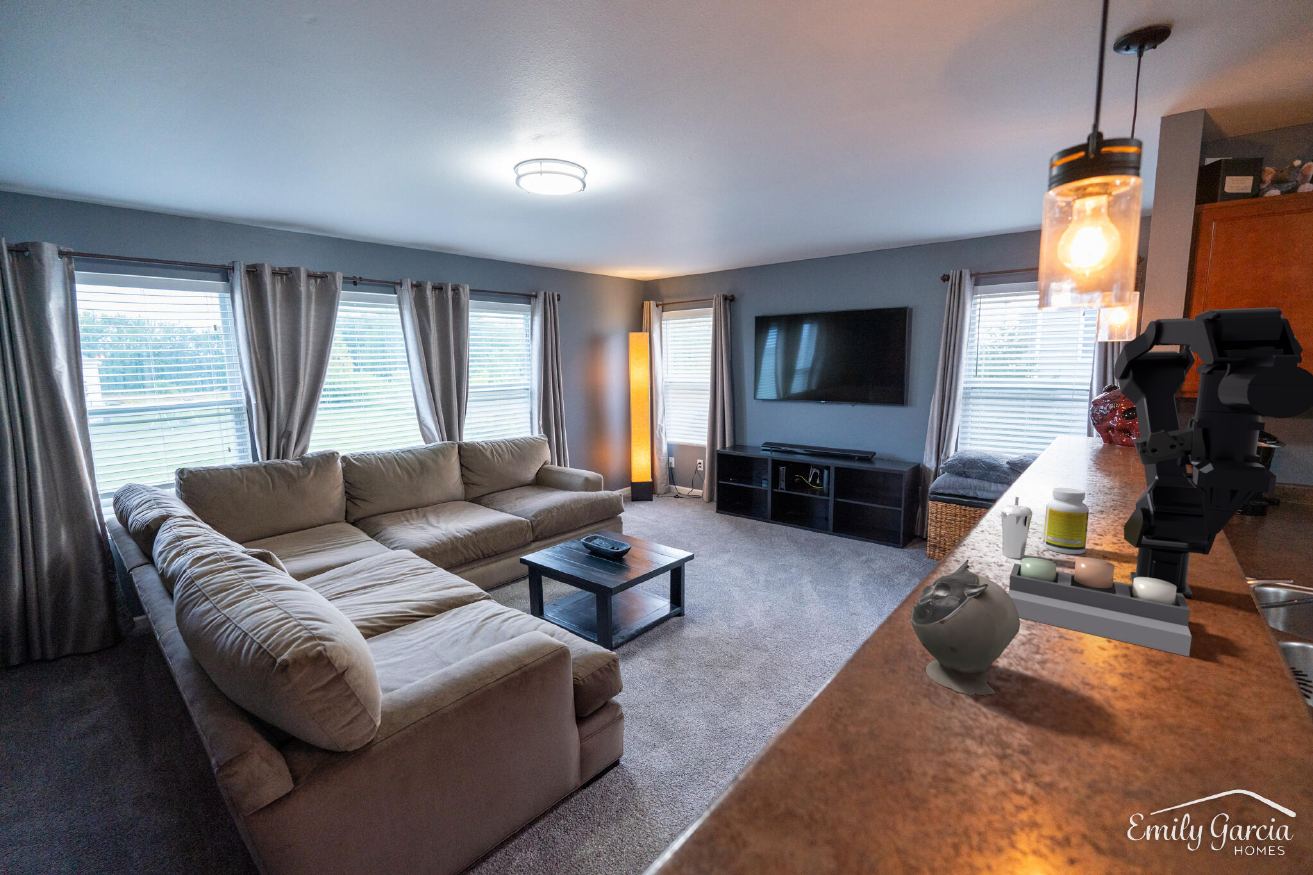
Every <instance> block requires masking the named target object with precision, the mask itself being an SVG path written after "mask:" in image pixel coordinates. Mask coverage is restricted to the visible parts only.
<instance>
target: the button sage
mask: <svg viewBox="0 0 1313 875" xmlns="http://www.w3.org/2000/svg"><path fill="white" fill-rule="evenodd" d="M1020 564H1021V574H1020V576H1023V577H1028V578H1033V579H1038V580H1044V581H1049V582H1054V583H1055V578H1056V571H1057V567H1058V566H1057V564H1056V563H1054V561H1050V560H1048V559H1047V560H1046V559H1043V558H1038V557H1024V558H1022V559H1021V563H1020Z"/></svg>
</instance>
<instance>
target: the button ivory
mask: <svg viewBox="0 0 1313 875" xmlns="http://www.w3.org/2000/svg"><path fill="white" fill-rule="evenodd" d="M1176 588H1177V587H1176V586H1175V585H1174V584H1172V583H1169V582H1166V581H1163V580H1159V579H1155V578H1148V577H1136V578H1134V582H1133V590H1132V598H1137V599H1143V600H1148V601H1153V602H1158V603H1164V604H1169V605H1175V597H1176Z"/></svg>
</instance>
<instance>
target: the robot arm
mask: <svg viewBox="0 0 1313 875" xmlns="http://www.w3.org/2000/svg"><path fill="white" fill-rule="evenodd" d="M1283 313H1284V312H1283V311H1282V310H1281V309H1280V308H1279V307H1255V308H1227V309H1225V308H1223V309H1221V308H1220V309H1209V310H1206V311H1203V312H1201V313H1199V314H1196V315H1195V316H1194V319H1190V318H1189V317H1187V318H1185V317H1183V318H1158V319H1155V320H1150V322H1149V323H1148V325H1147V326H1146V328H1145V331H1144V332H1142V333H1141V334H1139V335H1138V336H1137V337H1135V338H1134V339H1132V340H1130V341H1129V342H1127V343H1126V344H1125V345H1123V348H1122V349H1121V351H1120V353H1119V355H1118V357H1117V359H1116V361H1115V364H1114V368H1113V370H1114V371H1113V373H1114V374H1113V376H1114V378H1115V379H1116V380H1117V381H1118V386H1119V390H1120V394H1122V395H1123V396H1124V397H1125V398H1126V399H1127V400H1128V401H1130V402H1131V403H1132V404H1133V405H1135V411H1136V418H1137V424H1138V425H1137V427H1138V431H1139V432H1138V433H1139V437H1138V438H1133V439H1132V441H1133V444H1134V447H1135V450H1136V453H1137V455H1138V458H1139V461H1140V463H1141V465H1142V466H1143V467H1144V468H1143V469H1144V474H1145V475H1144V476H1145V482H1146V488H1145V490H1144V491H1143V493H1142V494H1141V495H1140V497H1139V498H1138V499H1137V501H1136V503H1135V509H1134V511H1133V512H1132V514H1131V515H1130V517H1128V519H1127V520H1126V522H1125V523H1124V524H1123V525H1124V526H1123V539H1124V540H1125V542H1127V543H1129V544H1130V545H1131V546H1133V548H1137V551H1138V552H1137V558H1136V567H1135V568H1136V569H1135V571H1130V574H1129V575H1130V578H1131V584H1132V585H1133V582H1134V578H1136V577H1148V578H1155V579H1159V580H1163V581H1166V582H1169V583H1172V584H1174V585H1175V586H1176V587H1177V588H1176V593H1181V594H1183V596H1184V597H1186V598H1192V597H1193V592H1192V590H1191V588H1190V586H1189V584H1188V574H1189V567H1190V561H1191V560H1190V559H1191V553H1193V554H1201V555H1205V556H1208V555H1210V552H1211V550H1212V547H1213V544H1214V542H1215V539H1216V537H1217V535H1218V534H1220V532H1222V530H1223V529H1224V528H1225V527H1226V526H1227V525H1228V523H1229V522H1230V521H1231V519H1232V518H1233V517H1234V516H1235V515H1236V514H1237V512H1238V511H1239V510H1240V509H1241V508H1242V507H1243V505H1244V504H1245V503H1246V502H1247V501H1249V499H1250V498H1251V497H1252V496H1253V494H1255V492H1256V493H1269V494H1271V493H1275V488H1276V482H1277V475H1275V474H1274V473H1273V472H1272V471H1271V470H1269V469H1268V468H1267V467H1265V466H1264V465H1262V464H1260V462H1261V456H1260V455H1258V454H1257V451H1258V442H1259V434H1260V431H1261V432H1262V431H1263V432H1264V431H1265V426H1266V422H1265V421H1262V420H1261V419H1262V417H1266V418H1272V419H1273V418H1274V419H1287V418H1293V417H1296V416H1299V415H1302V414H1303V413H1306V412H1307V411H1308V410H1310V409H1311V408H1312V407H1313V373H1311V372H1310V371H1309V370H1307V369H1305V368H1303V367H1300V366H1299V364H1301V363H1302V361H1303V357H1302V352H1303V351H1304V349H1303V347H1302V345H1301V344H1300V342H1299V340H1298V339H1297V337H1296V335H1295V333H1294V331H1293V329H1292V326H1291V323H1290V321H1289V319H1288V318H1287V317H1286V316H1282V315H1283ZM1155 346H1183V349H1182V350H1181V352H1177V351H1175V350H1174V351H1173V350H1171V351H1169V350H1166V351H1165V350H1164V351H1163V350H1161V351H1157V350H1156V351H1154V350H1153V351H1152V349H1153V348H1154V347H1155ZM1194 354H1197V355H1198V357H1199V359H1200V360H1201V362H1202V364H1200V365H1199V366H1198V367H1197V368H1196V371H1195V372H1196V374H1198V375H1199V380H1198V389H1197V396H1196V405H1195V406H1196V407H1195V413H1194V416H1191V418H1188V422H1187V428H1181V426H1180V419H1179V415H1178V409H1177V403H1176V397H1175V396H1176V394H1177V393H1178V391H1179V390H1180V388H1181V387H1182V386H1183V384H1184V383H1185V381H1186V380H1187V378H1186V376H1187V375H1188V373H1189V372H1190V370H1191V368H1192V367H1193V365H1194V364H1195V362H1196V359H1195V356H1194ZM1188 466H1192V469H1191V472H1188Z"/></svg>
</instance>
